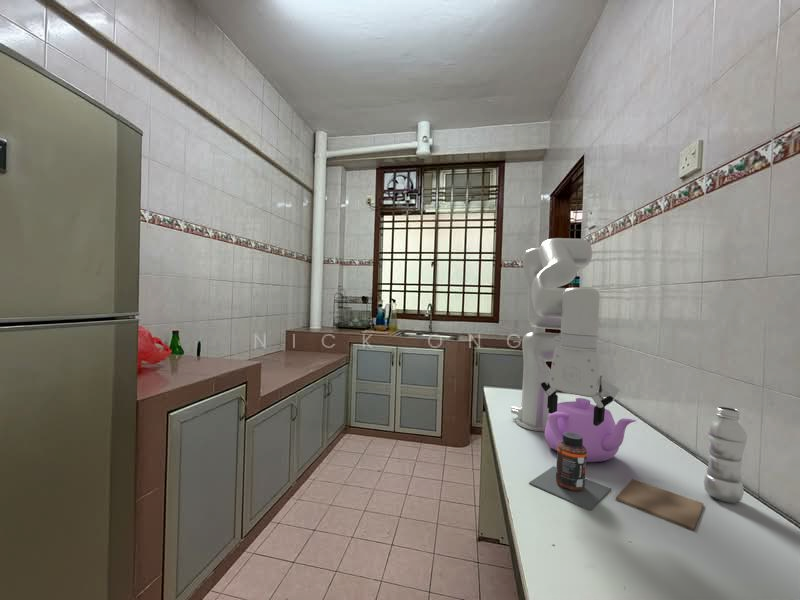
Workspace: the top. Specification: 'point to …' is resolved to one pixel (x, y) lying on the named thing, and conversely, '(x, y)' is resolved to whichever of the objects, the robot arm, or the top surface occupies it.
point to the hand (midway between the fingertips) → (574, 418)
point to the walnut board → (661, 503)
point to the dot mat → (581, 498)
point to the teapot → (586, 429)
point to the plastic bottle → (725, 456)
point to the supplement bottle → (571, 462)
